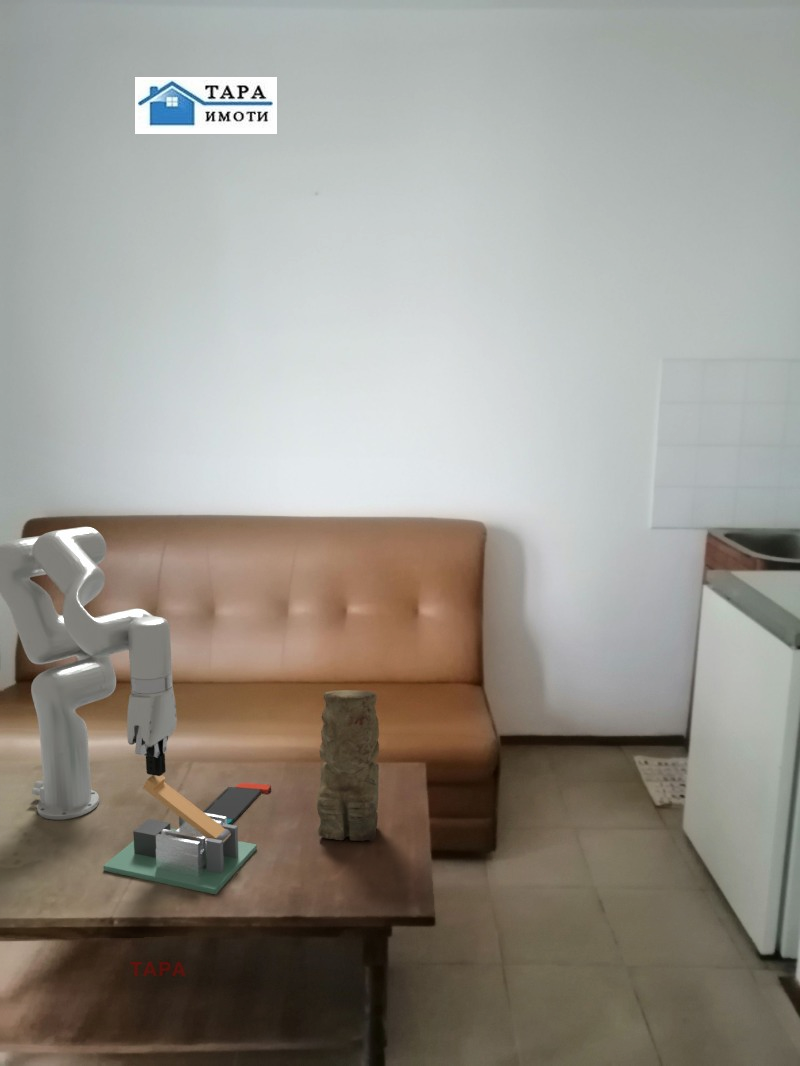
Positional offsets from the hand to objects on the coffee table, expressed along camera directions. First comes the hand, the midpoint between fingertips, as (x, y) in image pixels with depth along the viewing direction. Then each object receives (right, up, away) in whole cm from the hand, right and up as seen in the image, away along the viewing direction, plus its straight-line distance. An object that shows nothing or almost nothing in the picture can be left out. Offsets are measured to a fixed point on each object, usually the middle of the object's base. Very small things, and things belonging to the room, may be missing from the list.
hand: (156, 773), depth 163 cm
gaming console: (+11, -14, +23) cm, 29 cm away
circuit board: (+5, -17, +2) cm, 18 cm away
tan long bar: (+6, -8, -1) cm, 10 cm away
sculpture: (+36, -16, +12) cm, 41 cm away
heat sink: (+7, -17, +1) cm, 19 cm away
